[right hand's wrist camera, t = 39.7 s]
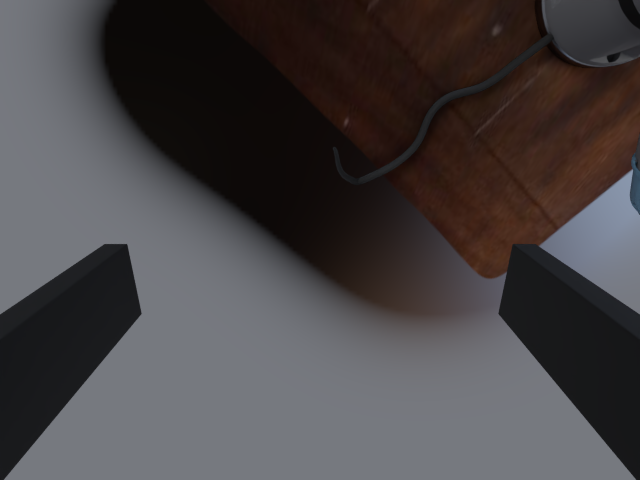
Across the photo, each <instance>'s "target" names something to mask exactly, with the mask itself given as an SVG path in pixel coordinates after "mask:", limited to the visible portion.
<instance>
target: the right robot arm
mask: <svg viewBox="0 0 640 480" xmlns="http://www.w3.org/2000/svg"><path fill="white" fill-rule="evenodd" d="M535 12H536V19H537V24H538V28H539V30H540V33H541V36H542V39H540V40H539V41H538V42H536V43H535V44H534V45H532V46H531V47H530V48H528V49H527V50H526V51H524V52H523V53H522V54H520V55H519V56H518V57H517V58H515V59H514V60H513V61H511V62H510V63H509V64H508V65H506V66H505V67H504V68H503V69H502V70H500V71H499V72H498V73H496V74H495V75H494V76H492V77H491V78H489V79H487V80H486V81H484V82H482V83H480V84H477V85H474V86H471V87H467V88H463V89H459V90H456V91H453V92H450V93H448V94H446V95H444V96H443V97H441V98H440V99H439V100H438V101H436V102H435V103H434V104H433V105H432V107H431V108H430V109H429V111H428V112H427V114H426V116H425V118H424V120H423V123H422V125H421V128H420V130H419V133H418V135H417V137H416V139H415V141H414V142H413V144H412V145H411V146H410V147H409V148H408V149H407V150H406V151H405V152H404V153H403V154H402V155H401V156H399V157H398V158H397V159H395V160H394V161H392V162H391V163H389V164H387V165H386V166H384V167H382V168H380V169H378V170H376V171H374V172H371V173H369V174H367V175H365V176H363V177H360V178H354V177H352V176H350V175H348V174H346V173H345V172H344V170H343V169H342V167H341V164H340V159H339V154H338V151H337V149H336V147H333V151H334V155H335V162H336V167H337V170H338V172H339V174H340V175H341V177H342V178H343V179H345V180H347V181H348V182H350V183H352V184H354V185H360V184H363V183H366V182H368V181H371V180H373V179H375V178H377V177H379V176H382V175H384V174H386V173H387V172H389V171H391V170H393V169H394V168H396V167H397V166H399V165H400V164H402V163H403V162H404V161H405V160H407V159H408V158H409V157H410V156H411V155H412V154H413V153H414V152H415V151H416V150H417V149H418V147H419V146H420V144H421V143H422V141H423V139H424V137H425V134H426V132H427V129H428V127H429V124H430V122H431V120H432V118H433V116H434V115H435V113H436V112H437V111H438V110H439V109H440V108H441V107H442V106H443V105H444V104H446V103H447V102H449V101H451V100H454V99H456V98H460V97H464V96H468V95H472V94H475V93H478V92H481V91H483V90H485V89H487V88H489V87H491V86H492V85H494V84H495V83H497V82H498V81H500V80H501V79H502V78H504V77H505V76H506V75H508V74H509V73H510V72H511V71H512V70H514V69H515V68H516V67H518V66H519V65H520V64H521V63H523V62H524V61H525V60H527V59H528V58H530V57H531V56H532V55H534V54H535V53H536V52H538V51H539V50H540V49H542V48H543V47H544V46H546V45H547V46H548V47H549V49H550V50H551V51H552V52H553V53H554V54H555V55H556V56H557V57H559V58H560V59H562V60H563V61H565V62H567V63H569V64H572V65H575V66H579V67H585V68H598V67H607V66H614V65H619V64H623V63H626V62H629V61H631V60H634V59H636V58H638V57H640V0H535ZM631 164H632V168H633V176H632V183H631V190H630V200H631V203H632V205H633V207H634V208H635V209H636V210H637V211H638V213H639V214H640V134H639V139H638V144H637V149H636V153H635V154H634V155H633V156H632V161H631ZM140 315H141V309H140V304H139V299H138V294H137V289H136V285H135V280H134V275H133V270H132V265H131V260H130V256H129V251H128V246H127V244H104V245H103V246H101V247H100V248H98V249H97V250H95V251H94V252H92V253H91V254H89V255H88V256H86V257H85V258H83V259H82V260H80V261H79V262H78V263H76V264H75V265H73V266H72V267H70V268H69V269H67V270H66V271H64V272H63V273H61V274H60V275H58V276H57V277H55V278H54V279H52V280H51V281H49V282H48V283H46V284H45V285H43V286H42V287H40V288H39V289H37V290H36V291H35V292H33V293H32V294H30V295H29V296H27V297H26V298H24V299H23V300H21V301H20V302H18V303H17V304H15V305H14V306H12V307H11V308H9V309H8V310H6V311H5V312H3V313H2V314H0V480H4V479H5V477H6V476H7V475H8V474H9V473H10V471H11V470H12V469H13V468H14V467H15V465H16V464H17V463H18V462H19V461H20V459H21V458H22V457H23V456H24V455H25V453H26V452H27V451H28V450H29V449H30V447H31V446H32V445H33V444H34V443H35V441H36V440H37V439H38V438H39V437H40V435H41V434H42V433H43V432H44V431H45V429H46V428H47V427H48V426H49V425H50V423H51V422H52V421H53V420H54V419H55V417H56V416H57V415H58V414H59V412H60V411H61V410H62V409H63V408H64V406H65V405H66V404H67V403H68V402H69V400H70V399H71V398H72V397H73V396H74V394H75V393H76V392H77V391H78V390H79V388H80V387H81V386H82V385H83V384H84V382H85V381H86V380H87V379H88V378H89V376H90V375H91V374H92V373H93V372H94V370H95V369H96V368H97V367H98V366H99V364H100V363H101V362H102V361H103V360H104V358H105V357H106V356H107V355H108V354H109V352H110V351H111V350H112V349H113V348H114V346H115V345H116V344H117V343H118V341H119V340H120V339H121V338H122V337H123V335H124V334H125V333H126V332H127V331H128V329H129V328H130V327H131V326H132V325H133V323H134V322H135V321H136V320H137V319H138V317H139V316H140ZM499 315H500V316H501V317H502V319H503V320H504V321H505V322H506V323H507V325H508V326H509V327H510V328H511V329H512V331H513V332H514V333H515V334H516V335H517V337H518V338H519V339H520V340H521V341H522V343H523V344H524V345H525V346H526V348H527V349H528V350H529V351H530V352H531V354H532V355H533V356H534V357H535V358H536V360H537V361H538V362H539V363H540V364H541V366H542V367H543V368H544V369H545V370H546V372H547V373H548V374H549V375H550V376H551V378H552V379H553V380H554V381H555V382H556V384H557V385H558V386H559V387H560V388H561V390H562V391H563V392H564V393H565V394H566V396H567V397H568V398H569V399H570V400H571V402H572V403H573V404H574V405H575V406H576V408H577V409H578V410H579V411H580V413H581V414H582V415H583V416H584V417H585V418H586V420H587V421H588V422H589V423H590V425H591V426H592V427H593V428H594V429H595V431H596V432H597V433H598V434H599V435H600V437H601V438H602V439H603V440H604V441H605V443H606V444H607V445H608V446H609V447H610V449H611V450H612V451H613V452H614V453H615V455H616V456H617V457H618V458H619V459H620V461H621V462H622V463H623V464H624V465H625V467H626V468H627V469H628V470H629V471H630V473H631V474H632V475H633V476H634V477H635V479H636V480H640V314H638V313H637V312H635V311H634V310H632V309H631V308H629V307H628V306H626V305H625V304H623V303H622V302H620V301H619V300H617V299H616V298H614V297H613V296H611V295H610V294H609V293H607V292H605V291H604V290H603V289H601V288H600V287H598V286H597V285H595V284H594V283H592V282H591V281H589V280H588V279H586V278H585V277H583V276H582V275H580V274H579V273H577V272H576V271H574V270H573V269H571V268H570V267H568V266H567V265H565V264H564V263H562V262H561V261H560V260H558V259H557V258H555V257H554V256H552V255H551V254H549V253H548V252H546V251H545V250H543V249H542V248H540V247H539V246H537V245H536V244H513V246H512V251H511V256H510V260H509V265H508V270H507V275H506V280H505V285H504V289H503V294H502V299H501V304H500V309H499Z"/></svg>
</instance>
